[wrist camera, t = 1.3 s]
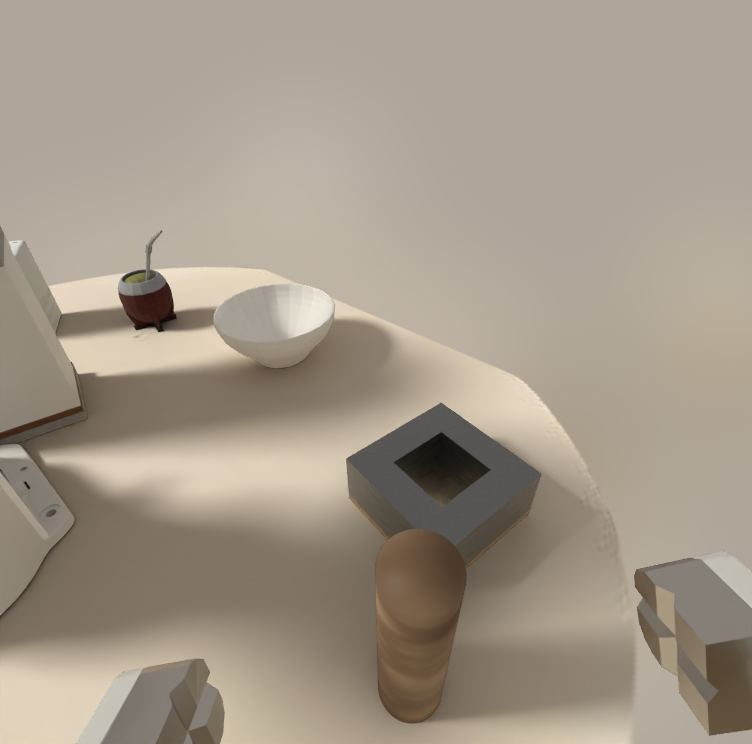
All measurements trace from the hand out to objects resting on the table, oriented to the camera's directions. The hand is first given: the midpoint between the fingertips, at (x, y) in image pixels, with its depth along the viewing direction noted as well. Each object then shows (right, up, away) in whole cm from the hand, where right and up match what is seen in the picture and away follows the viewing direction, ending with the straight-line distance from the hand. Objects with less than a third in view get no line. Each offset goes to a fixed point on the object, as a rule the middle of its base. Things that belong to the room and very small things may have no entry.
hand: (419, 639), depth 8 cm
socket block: (+5, -8, +34) cm, 35 cm away
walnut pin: (+2, -17, +22) cm, 28 cm away
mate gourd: (-35, +13, +62) cm, 72 cm away
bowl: (-14, +8, +55) cm, 57 cm away
